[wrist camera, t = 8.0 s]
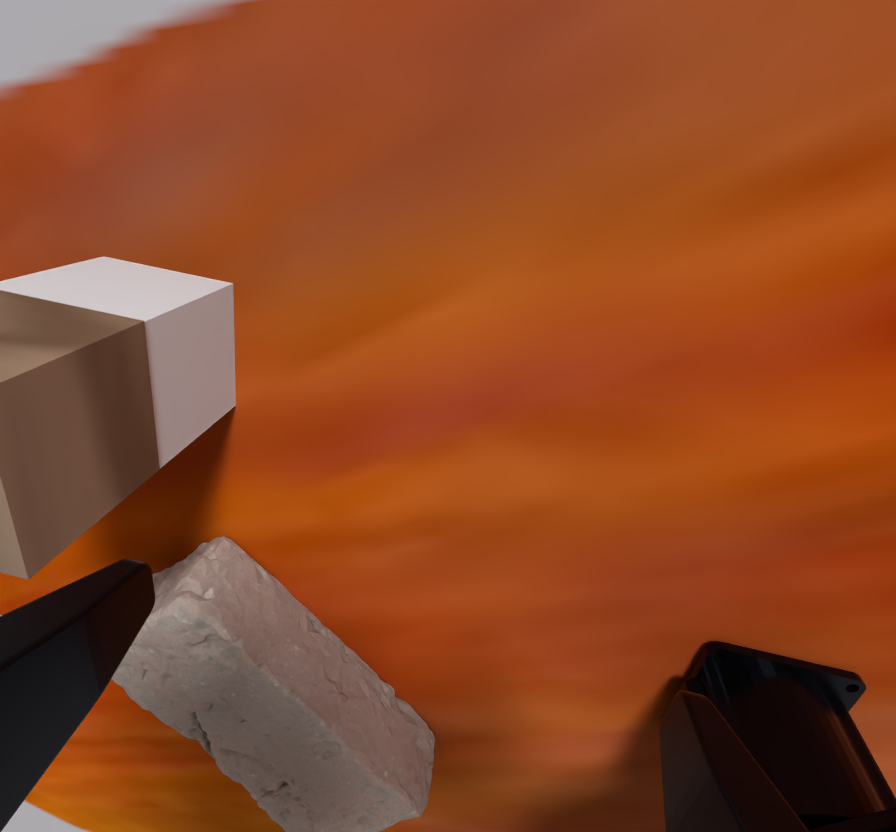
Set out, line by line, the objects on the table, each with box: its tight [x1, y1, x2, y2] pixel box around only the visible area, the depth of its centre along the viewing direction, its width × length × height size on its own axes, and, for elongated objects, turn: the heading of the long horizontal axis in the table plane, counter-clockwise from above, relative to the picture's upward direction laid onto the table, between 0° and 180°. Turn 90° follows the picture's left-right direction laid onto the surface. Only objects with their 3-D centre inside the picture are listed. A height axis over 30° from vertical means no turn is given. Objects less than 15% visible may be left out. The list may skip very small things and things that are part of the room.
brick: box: [111, 536, 435, 832], centre depth 27 cm, size 17×8×5 cm, turn 38°
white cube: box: [0, 257, 236, 468], centre depth 18 cm, size 5×5×5 cm
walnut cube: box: [0, 290, 160, 580], centre depth 14 cm, size 5×5×5 cm
